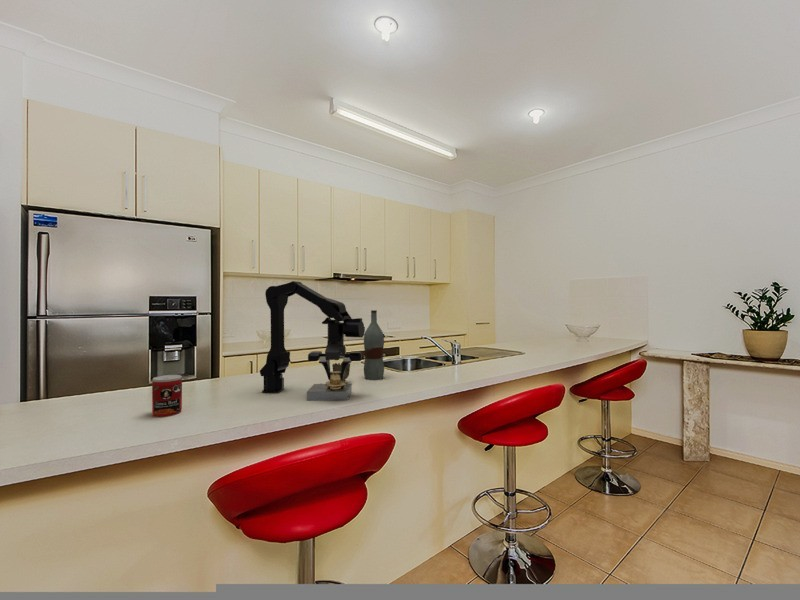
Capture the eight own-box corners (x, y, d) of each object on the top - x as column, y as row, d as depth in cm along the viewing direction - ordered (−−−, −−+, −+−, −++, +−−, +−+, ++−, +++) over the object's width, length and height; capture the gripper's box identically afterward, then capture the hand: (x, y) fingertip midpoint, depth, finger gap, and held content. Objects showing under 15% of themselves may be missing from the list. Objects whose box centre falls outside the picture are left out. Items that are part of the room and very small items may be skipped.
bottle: (362, 376, 169) (362, 310, 169) (381, 375, 171) (382, 310, 171) (365, 380, 160) (365, 310, 160) (386, 379, 162) (386, 310, 162)
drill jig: (306, 400, 128) (306, 391, 128) (314, 391, 140) (314, 383, 140) (347, 400, 128) (347, 391, 128) (351, 391, 140) (351, 383, 140)
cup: (348, 385, 151) (348, 365, 152) (330, 385, 152) (330, 365, 152) (351, 381, 159) (351, 362, 159) (334, 381, 159) (334, 362, 159)
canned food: (150, 418, 108) (150, 380, 108) (153, 411, 115) (154, 376, 115) (181, 415, 112) (181, 378, 112) (182, 408, 119) (182, 373, 119)
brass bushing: (323, 394, 131) (323, 374, 131) (327, 389, 138) (327, 370, 138) (344, 394, 131) (344, 374, 131) (346, 389, 138) (346, 370, 138)
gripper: (304, 339, 126) (304, 385, 126) (359, 339, 126) (359, 385, 126) (311, 335, 137) (311, 378, 137) (362, 335, 138) (362, 378, 138)
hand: (335, 380), depth 134 cm, fingers closed on brass bushing, 4 cm apart
